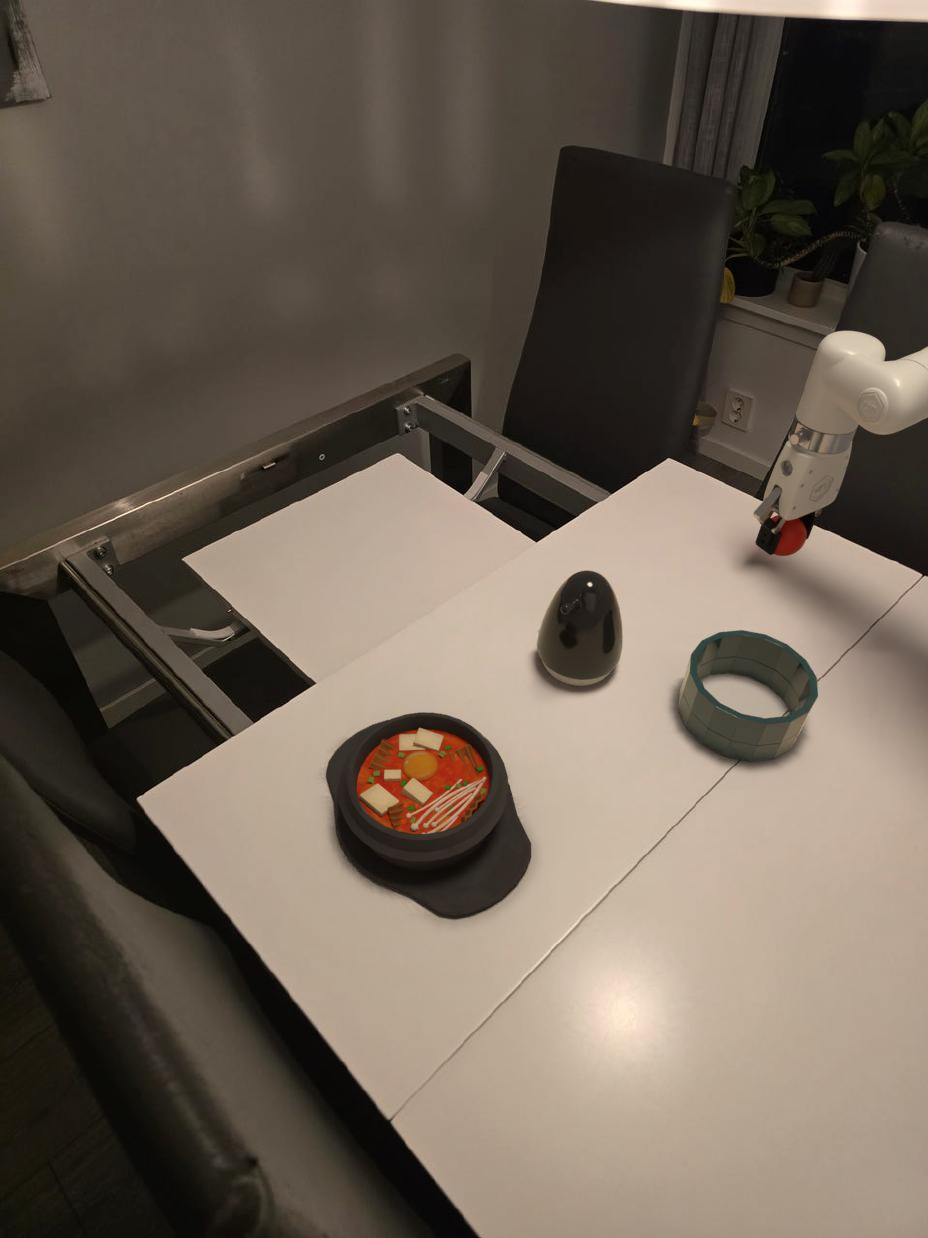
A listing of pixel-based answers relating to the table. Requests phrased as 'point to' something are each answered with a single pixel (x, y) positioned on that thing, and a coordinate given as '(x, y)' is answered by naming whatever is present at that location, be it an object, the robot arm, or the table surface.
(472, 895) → the casserole
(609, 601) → the black egg shape
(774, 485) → the robot arm
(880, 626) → the table surface
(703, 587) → the table surface
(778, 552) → the tomato
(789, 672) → the green cylindrical ring
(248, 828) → the table surface
